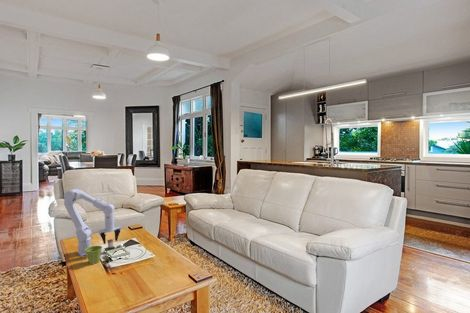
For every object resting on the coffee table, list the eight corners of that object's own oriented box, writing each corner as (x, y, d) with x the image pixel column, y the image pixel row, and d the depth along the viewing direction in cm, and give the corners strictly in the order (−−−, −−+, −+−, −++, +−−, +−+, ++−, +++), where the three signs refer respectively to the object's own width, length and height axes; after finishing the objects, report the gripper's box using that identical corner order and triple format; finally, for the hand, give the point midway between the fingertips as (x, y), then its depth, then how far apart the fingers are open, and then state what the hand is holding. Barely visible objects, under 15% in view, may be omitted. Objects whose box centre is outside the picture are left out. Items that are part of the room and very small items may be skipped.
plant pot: (96, 266, 170) (95, 252, 169) (82, 264, 172) (81, 250, 171) (106, 259, 179) (105, 246, 179) (93, 258, 181) (92, 245, 181)
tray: (106, 255, 184) (106, 251, 184) (123, 251, 192) (123, 246, 192) (112, 261, 176) (112, 256, 176) (129, 256, 184) (129, 251, 184)
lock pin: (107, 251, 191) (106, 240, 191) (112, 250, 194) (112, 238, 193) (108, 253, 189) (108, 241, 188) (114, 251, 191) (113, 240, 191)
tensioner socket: (104, 251, 191) (104, 248, 191) (113, 249, 195) (113, 245, 195) (107, 254, 187) (107, 250, 187) (116, 251, 191) (116, 248, 191)
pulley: (115, 248, 196) (114, 244, 196) (123, 246, 200) (123, 242, 200) (118, 251, 192) (118, 247, 192) (127, 249, 196) (126, 245, 196)
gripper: (100, 226, 182) (101, 246, 183) (122, 221, 192) (123, 240, 193) (96, 223, 187) (97, 243, 188) (118, 219, 197) (119, 238, 198)
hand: (110, 242), depth 191 cm, fingers open, 7 cm apart
